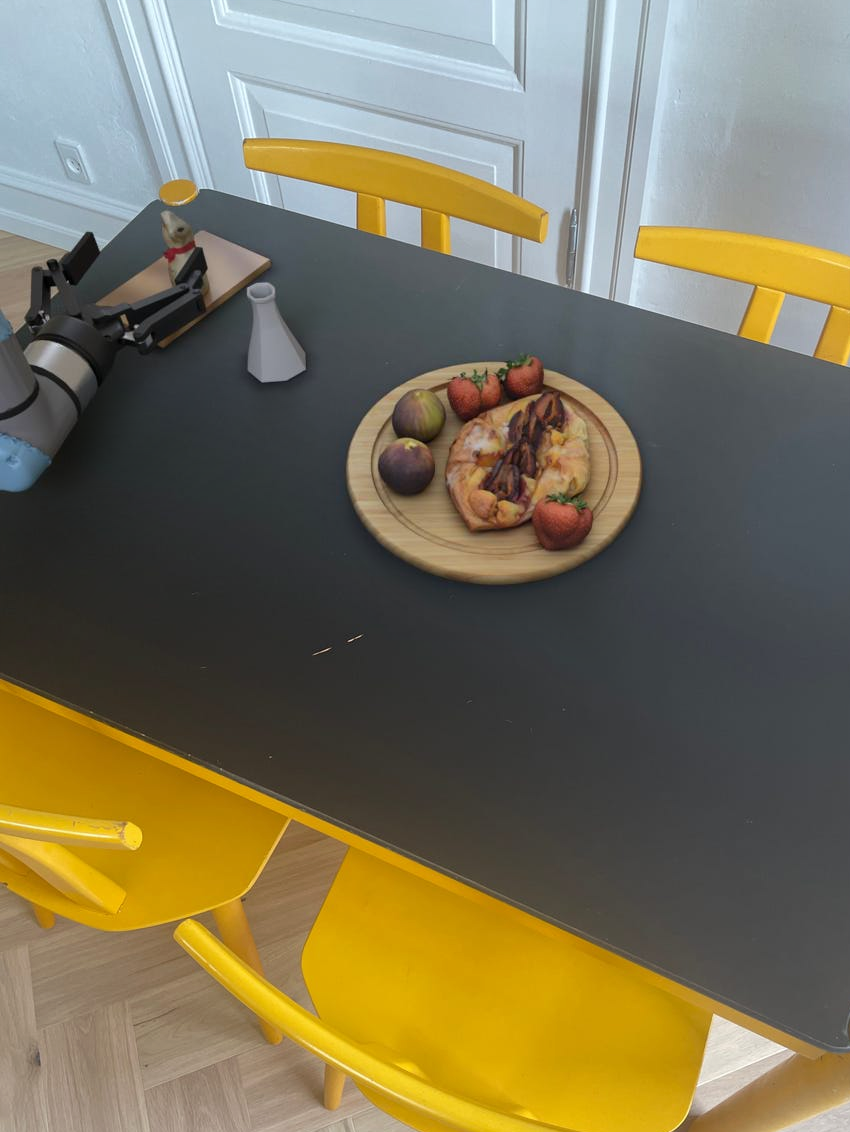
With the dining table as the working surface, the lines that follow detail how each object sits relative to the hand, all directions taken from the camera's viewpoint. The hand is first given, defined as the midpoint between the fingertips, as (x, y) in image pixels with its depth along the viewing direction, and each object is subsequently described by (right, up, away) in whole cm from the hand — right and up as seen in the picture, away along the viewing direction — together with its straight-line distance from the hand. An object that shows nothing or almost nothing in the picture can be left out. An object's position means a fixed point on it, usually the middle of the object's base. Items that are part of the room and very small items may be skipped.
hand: (147, 249), depth 104 cm
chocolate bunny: (+2, -1, +9) cm, 9 cm away
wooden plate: (+41, -28, -7) cm, 50 cm away
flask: (+15, -13, +2) cm, 20 cm away
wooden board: (+1, -1, +10) cm, 10 cm away
